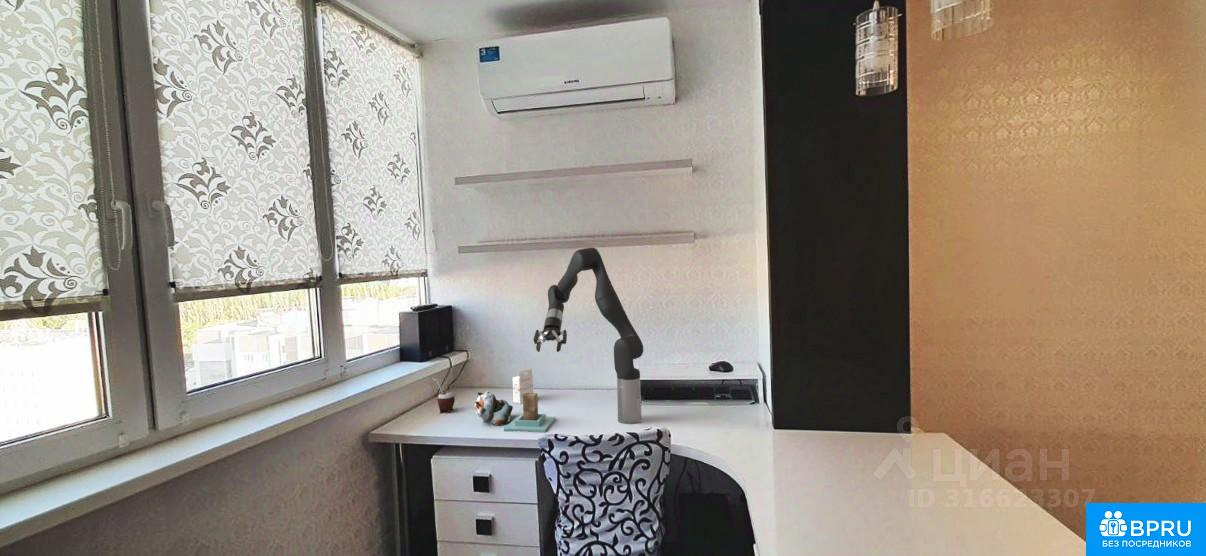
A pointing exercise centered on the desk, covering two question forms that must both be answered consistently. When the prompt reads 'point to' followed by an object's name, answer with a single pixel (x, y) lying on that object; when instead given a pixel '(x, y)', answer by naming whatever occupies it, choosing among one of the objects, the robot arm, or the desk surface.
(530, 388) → the ink cartridge box
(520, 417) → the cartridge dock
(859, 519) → the desk surface
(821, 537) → the desk surface
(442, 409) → the mate gourd
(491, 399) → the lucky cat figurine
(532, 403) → the walnut block
